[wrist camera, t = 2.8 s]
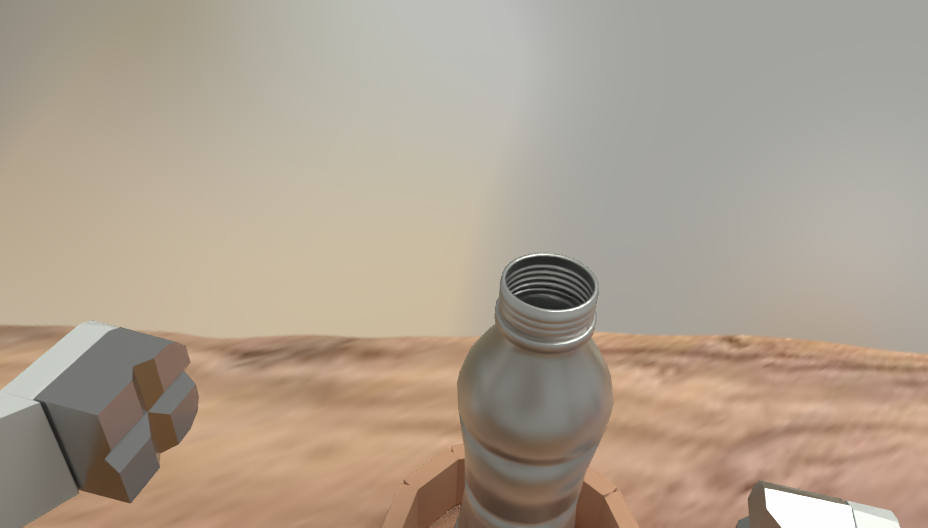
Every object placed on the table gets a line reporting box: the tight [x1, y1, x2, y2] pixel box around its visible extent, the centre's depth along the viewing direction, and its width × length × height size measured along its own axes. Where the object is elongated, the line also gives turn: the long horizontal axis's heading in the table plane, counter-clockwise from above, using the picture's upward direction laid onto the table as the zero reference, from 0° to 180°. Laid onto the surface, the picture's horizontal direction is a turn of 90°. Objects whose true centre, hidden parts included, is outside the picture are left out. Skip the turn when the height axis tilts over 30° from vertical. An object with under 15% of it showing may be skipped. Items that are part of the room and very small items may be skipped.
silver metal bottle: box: [454, 253, 613, 528], centre depth 31 cm, size 6×7×20 cm
